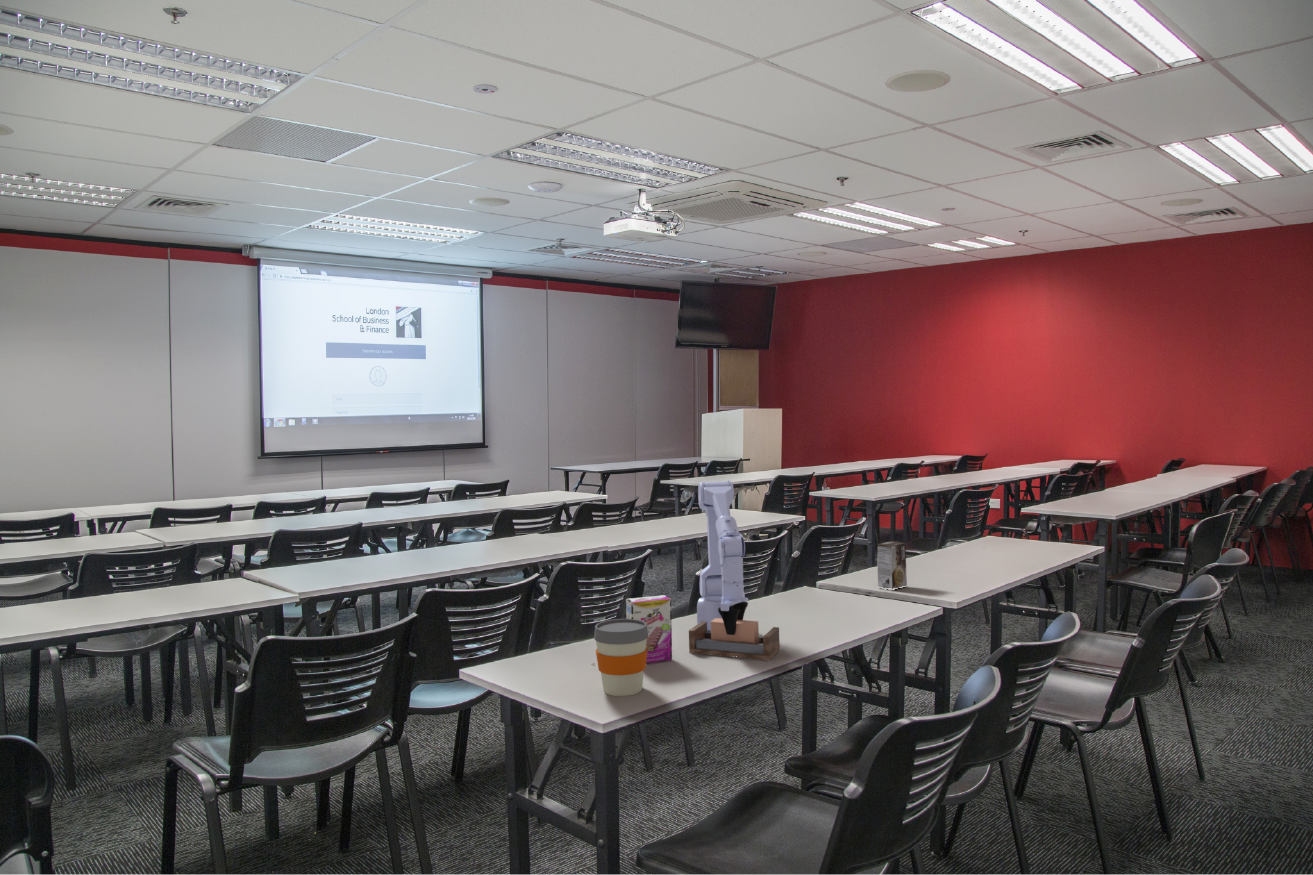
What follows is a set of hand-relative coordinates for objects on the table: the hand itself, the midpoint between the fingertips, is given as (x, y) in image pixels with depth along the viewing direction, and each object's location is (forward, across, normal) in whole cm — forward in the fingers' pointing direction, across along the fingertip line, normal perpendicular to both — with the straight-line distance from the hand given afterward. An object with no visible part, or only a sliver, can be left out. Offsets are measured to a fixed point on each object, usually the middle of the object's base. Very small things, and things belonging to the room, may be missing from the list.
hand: (733, 631), depth 212 cm
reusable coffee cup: (+5, -37, +15) cm, 40 cm away
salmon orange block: (+4, 0, 0) cm, 4 cm away
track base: (+5, 0, 0) cm, 5 cm away
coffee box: (+5, +92, -29) cm, 97 cm away
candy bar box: (+6, -15, +18) cm, 24 cm away
